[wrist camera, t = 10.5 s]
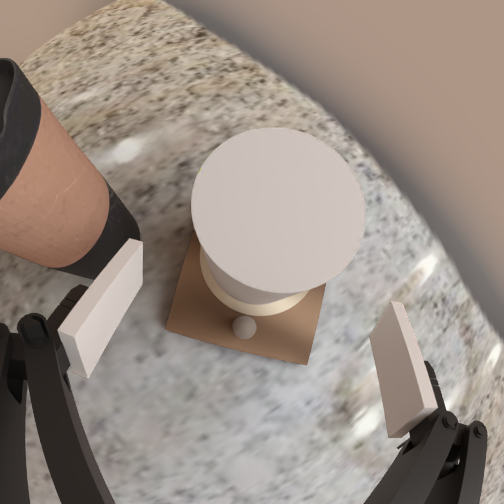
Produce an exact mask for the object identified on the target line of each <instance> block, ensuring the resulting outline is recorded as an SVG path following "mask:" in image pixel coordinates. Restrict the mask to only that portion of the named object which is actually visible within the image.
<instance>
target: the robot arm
mask: <svg viewBox="0 0 504 504" xmlns="http://www.w3.org/2000/svg"><path fill="white" fill-rule="evenodd" d="M142 285H143V242H142V241H138V240H134V239H130V238H129V240H128V241H127V242H126V243H125V244H124V245H123V247H122V248H121V249H120V250H119V251H118V252H117V254H116V255H115V256H114V257H113V258H112V260H111V261H110V262H109V263H108V264H107V266H106V267H105V268H104V269H103V271H102V272H101V273H100V274H99V276H98V277H97V278H96V279H95V281H94V282H93V283H92V284H91V286H90V287H87V286H84V285H81V284H80V285H78V286H76V287H75V288H73V289H71V290H70V292H69V293H68V294H67V295H66V297H65V299H63V300H62V302H61V303H60V305H58V307H57V308H56V309H55V310H54V312H53V313H52V314H51V316H50V317H49V318H48V320H47V321H46V318H45V317H44V316H43V315H41V314H38V313H30V314H28V315H25V316H24V317H23V318H21V319H20V321H19V322H18V325H17V330H18V333H19V334H18V333H11V332H10V331H9V329H8V327H7V326H6V325H5V324H3V323H0V504H30V499H29V491H28V482H27V470H26V450H25V416H26V395H27V383H28V386H29V392H30V398H31V403H32V408H33V413H34V417H35V422H36V426H37V430H38V434H39V438H40V442H41V445H42V449H43V452H44V456H45V459H46V462H47V465H48V468H49V471H50V474H51V477H52V480H53V483H54V486H55V488H56V491H57V493H58V496H59V499H60V501H61V503H62V504H115V502H114V500H113V498H112V496H111V494H110V492H109V490H108V487H107V485H106V483H105V481H104V479H103V477H102V474H101V472H100V470H99V468H98V465H97V463H96V460H95V458H94V455H93V453H92V450H91V448H90V445H89V443H88V440H87V437H86V434H85V431H84V429H83V426H82V423H81V420H80V417H79V413H78V410H77V407H76V404H75V400H74V397H73V393H72V390H71V386H70V382H69V378H68V375H67V370H68V368H69V366H71V368H72V371H73V373H75V374H77V375H80V376H82V377H84V378H87V379H89V377H90V375H91V373H92V371H93V369H94V368H95V366H96V364H97V362H98V360H99V358H100V356H101V355H102V353H103V351H104V349H105V347H106V346H107V344H108V342H109V340H110V339H111V337H112V335H113V333H114V331H115V330H116V328H117V326H118V325H119V323H120V321H121V319H122V318H123V316H124V314H125V313H126V311H127V309H128V308H129V306H130V304H131V303H132V301H133V299H134V298H135V296H136V294H137V293H138V291H139V289H140V288H141V286H142ZM369 338H370V342H371V347H372V351H373V356H374V360H375V365H376V370H377V375H378V380H379V385H380V390H381V396H382V401H383V407H384V413H385V419H386V425H387V432H388V438H402V437H403V436H404V435H406V434H407V433H408V432H409V433H410V438H409V439H407V440H406V441H405V442H403V443H402V444H401V445H399V446H398V447H397V448H398V449H399V448H401V447H402V446H403V447H402V449H401V450H400V452H399V454H398V455H397V457H396V458H395V460H394V462H393V463H392V465H391V466H390V468H389V469H388V471H387V472H386V474H385V475H384V476H383V478H382V479H381V481H380V482H379V484H378V485H377V486H376V488H375V489H374V490H373V492H372V493H371V494H370V496H369V497H368V498H367V500H366V501H365V502H364V504H479V501H480V496H481V490H482V484H483V477H484V470H485V461H486V450H487V430H486V427H485V426H484V424H483V423H481V422H480V421H473V422H472V423H471V424H470V425H468V426H467V425H464V424H461V423H458V420H457V418H456V416H455V415H454V414H453V413H451V412H450V411H447V410H446V407H445V404H444V400H443V397H442V394H441V391H440V387H439V386H438V385H439V384H438V381H437V380H436V375H435V372H434V369H433V368H432V366H431V365H430V363H429V362H428V361H424V360H423V357H422V354H421V351H420V349H419V346H418V343H417V340H416V337H415V335H414V332H413V329H412V327H411V324H410V321H409V319H408V316H407V314H406V311H405V309H404V306H403V304H402V303H398V302H393V301H391V302H390V304H389V305H388V307H387V309H386V310H385V312H384V314H383V315H382V317H381V318H380V320H379V322H378V323H377V325H376V326H375V328H374V329H373V331H372V332H371V334H370V335H369ZM459 459H460V461H459V464H458V460H459Z"/></svg>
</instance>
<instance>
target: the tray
mask: <svg viewBox="0 0 504 504" xmlns="http://www.w3.org/2000/svg"><path fill="white" fill-rule="evenodd" d="M325 286H326V283H324V284H322V285H320V286H318V287H315V288H313V289H310V290H307V291H304V292H301V293H299V294H296V295H293V296H290V297H287V298H284V299H281V300H278V301H276V302H272V303H269V304H263V305H253V304H247V303H243V302H240V301H238V300H236V299H234V298H232V297H230V296H229V295H228V294H226V293H225V292H224V291H223V290H222V289H221V288H220V287H219V285H218V284H217V283H216V281H215V279H214V278H213V276H212V273H211V271H210V268H209V266H208V263H207V260H206V258H205V255H204V252H203V250H202V247H201V245H200V242H199V239H198V236H197V234H196V231H195V228H194V230H193V233H192V236H191V240H190V243H189V246H188V249H187V253H186V256H185V260H184V263H183V266H182V270H181V273H180V277H179V280H178V284H177V287H176V291H175V295H174V298H173V302H172V306H171V309H170V313H169V317H168V321H167V325H166V328H165V330H167V331H171V332H174V333H177V334H180V335H184V336H187V337H191V338H194V339H198V340H201V341H205V342H209V343H212V344H216V345H220V346H224V347H227V348H231V349H235V350H239V351H243V352H248V353H252V354H256V355H260V356H265V357H269V358H274V359H279V360H283V361H288V362H293V363H298V364H303V365H307V363H308V359H309V356H310V352H311V348H312V344H313V339H314V335H315V331H316V327H317V323H318V318H319V314H320V309H321V305H322V300H323V295H324V291H325Z"/></svg>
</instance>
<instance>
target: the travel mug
mask: <svg viewBox="0 0 504 504" xmlns="http://www.w3.org/2000/svg"><path fill="white" fill-rule="evenodd" d="M129 238H130V239H134V240H138V241H140V232H139V228H138V225H137V223H136V221H135V219H134V218H133V216H132V215H131V214H130V212H129V211H128V210H127V208H126V207H125V206H124V204H123V203H122V202H121V200H120V199H119V198H118V196H117V195H116V194H115V192H114V191H113V190H112V188H111V187H110V186H109V184H108V183H107V181H106V180H105V179H104V177H103V176H102V175H101V174H100V172H99V171H98V170H97V169H96V168H95V166H94V165H93V164H92V163H91V161H90V160H89V159H88V158H87V157H86V155H85V154H84V153H83V152H82V150H81V149H80V148H79V147H78V145H77V144H76V143H75V142H74V140H73V139H72V138H71V137H70V135H69V134H68V133H67V132H66V130H65V129H64V128H63V126H62V125H61V124H60V123H59V121H58V120H57V119H56V117H55V116H54V115H53V113H52V112H51V111H50V109H49V108H48V107H47V105H46V104H45V103H44V101H43V100H42V99H41V97H40V96H39V95H38V93H37V92H36V90H35V89H34V88H33V86H32V85H31V84H30V82H29V81H28V79H27V78H26V76H25V75H24V74H23V72H22V71H21V69H20V68H19V66H18V65H17V64H16V63H15V62H14V61H13V60H11V59H8V58H0V249H1V250H4V251H6V252H9V253H11V254H14V255H16V256H19V257H21V258H24V259H27V260H29V261H32V262H34V263H37V264H40V265H43V266H45V267H48V268H52V269H56V270H59V271H63V272H67V273H70V274H74V275H78V276H82V277H85V278H89V279H94V280H95V279H96V278H97V277H98V276H99V274H100V273H101V272H102V271H103V269H104V268H105V267H106V266H107V264H108V263H109V262H110V261H111V260H112V258H113V257H114V256H115V255H116V254H117V252H118V251H119V250H120V249H121V248H122V247H123V245H124V244H125V243H126V242H127V241H128V240H129Z"/></svg>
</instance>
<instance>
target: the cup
mask: <svg viewBox="0 0 504 504" xmlns="http://www.w3.org/2000/svg"><path fill="white" fill-rule="evenodd" d="M191 213H192V220H193V224H194V228H195V231H196V234H197V236H198V239H199V242H200V245H201V247H202V250H203V252H204V255H205V258H206V260H207V263H208V266H209V268H210V271H211V273H212V276H213V278H214V279H215V281H216V283H217V284H218V285H219V287H220V288H221V289H222V290H223V291H224V292H225V293H226V294H228V295H229V296H230V297H232V298H234V299H236V300H238V301H240V302H243V303H247V304H253V305H263V304H269V303H272V302H276V301H278V300H281V299H284V298H287V297H290V296H293V295H296V294H299V293H301V292H304V291H307V290H310V289H313V288H315V287H318V286H320V285H322V284H324V283H326V282H328V281H329V280H331V279H333V278H334V277H335V276H337V275H338V274H339V273H340V272H341V271H342V270H344V268H345V267H346V266H347V265H348V264H349V263H350V261H351V260H352V259H353V257H354V256H355V254H356V252H357V250H358V248H359V246H360V244H361V241H362V238H363V234H364V230H365V222H366V209H365V201H364V197H363V193H362V190H361V187H360V184H359V182H358V180H357V178H356V176H355V174H354V173H353V171H352V169H351V168H350V166H349V165H348V164H347V163H346V161H345V160H344V159H343V158H342V157H341V156H340V155H339V154H338V153H337V152H336V151H335V150H334V149H332V148H331V147H330V146H329V145H327V144H326V143H324V142H323V141H321V140H319V139H317V138H315V137H313V136H311V135H309V134H306V133H304V132H300V131H297V130H293V129H287V128H278V127H268V128H259V129H253V130H249V131H246V132H243V133H240V134H238V135H236V136H234V137H232V138H230V139H228V140H227V141H225V142H224V143H222V144H221V145H220V146H218V147H217V148H216V149H215V150H214V151H213V152H212V153H211V154H210V155H209V156H208V158H207V159H206V160H205V162H204V163H203V165H202V166H201V168H200V170H199V172H198V174H197V177H196V179H195V182H194V186H193V190H192V197H191Z"/></svg>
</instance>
